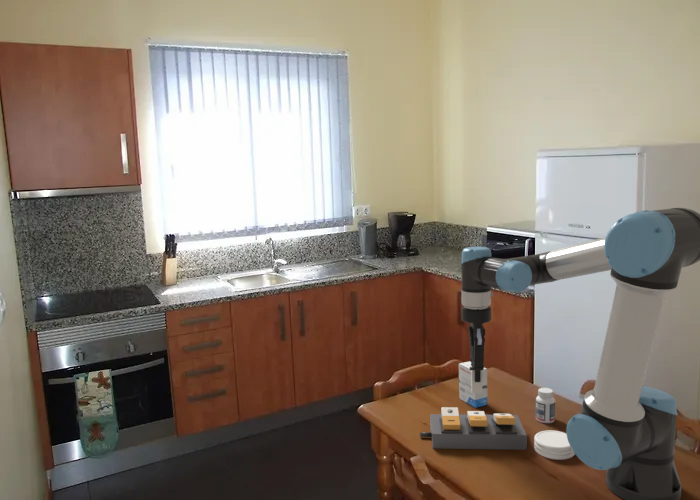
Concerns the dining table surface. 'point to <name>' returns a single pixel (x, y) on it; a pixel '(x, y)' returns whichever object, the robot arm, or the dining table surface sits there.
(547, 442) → the coaster
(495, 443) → the rocker switch panel
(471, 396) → the ink box
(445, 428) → the rocker
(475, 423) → the rocker
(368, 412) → the dining table surface
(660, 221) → the robot arm
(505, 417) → the block
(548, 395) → the pill bottle
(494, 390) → the dining table surface
